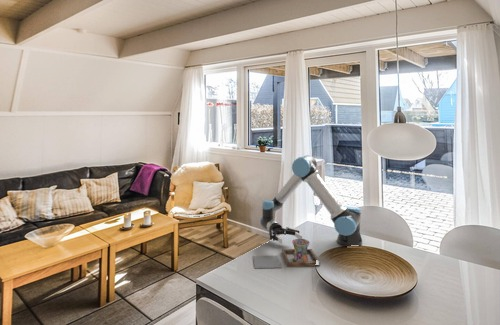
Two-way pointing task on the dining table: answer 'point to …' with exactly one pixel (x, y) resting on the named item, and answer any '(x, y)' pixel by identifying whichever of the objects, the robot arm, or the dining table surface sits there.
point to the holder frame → (298, 264)
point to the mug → (300, 250)
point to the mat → (266, 262)
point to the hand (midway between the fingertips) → (291, 239)
